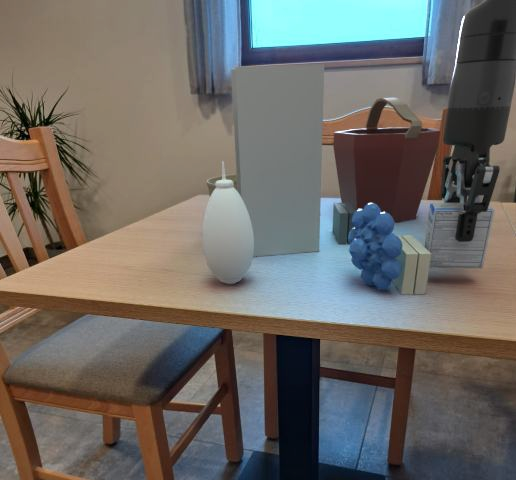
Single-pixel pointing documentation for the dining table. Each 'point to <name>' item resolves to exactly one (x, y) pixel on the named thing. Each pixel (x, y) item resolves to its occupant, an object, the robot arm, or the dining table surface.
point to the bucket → (386, 162)
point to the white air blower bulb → (227, 233)
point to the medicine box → (443, 238)
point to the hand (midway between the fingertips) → (456, 235)
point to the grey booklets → (342, 221)
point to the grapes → (375, 246)
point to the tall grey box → (280, 154)
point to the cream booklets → (412, 267)
